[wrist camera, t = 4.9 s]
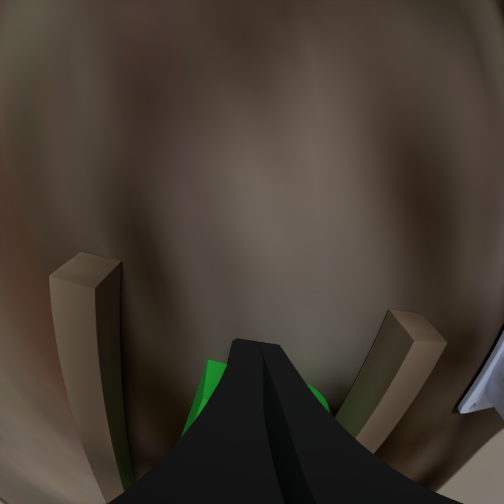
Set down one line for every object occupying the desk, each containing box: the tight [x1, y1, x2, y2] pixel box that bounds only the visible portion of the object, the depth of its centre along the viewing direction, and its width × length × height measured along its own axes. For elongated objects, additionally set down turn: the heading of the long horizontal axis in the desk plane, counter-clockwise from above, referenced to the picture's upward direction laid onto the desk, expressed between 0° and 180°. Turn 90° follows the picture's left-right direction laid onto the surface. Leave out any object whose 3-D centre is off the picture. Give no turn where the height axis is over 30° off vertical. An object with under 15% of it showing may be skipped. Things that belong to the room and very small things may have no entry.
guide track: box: [49, 252, 447, 504], centre depth 12 cm, size 12×25×3 cm, turn 168°
